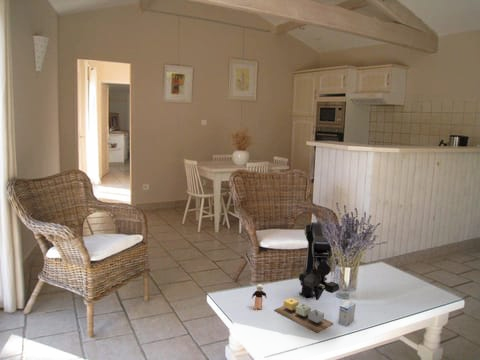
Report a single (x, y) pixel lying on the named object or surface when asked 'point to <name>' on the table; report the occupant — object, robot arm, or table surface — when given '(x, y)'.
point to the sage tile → (303, 309)
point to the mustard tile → (291, 303)
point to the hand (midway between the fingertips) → (317, 299)
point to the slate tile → (316, 316)
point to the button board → (303, 319)
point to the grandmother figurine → (258, 297)
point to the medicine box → (346, 313)
